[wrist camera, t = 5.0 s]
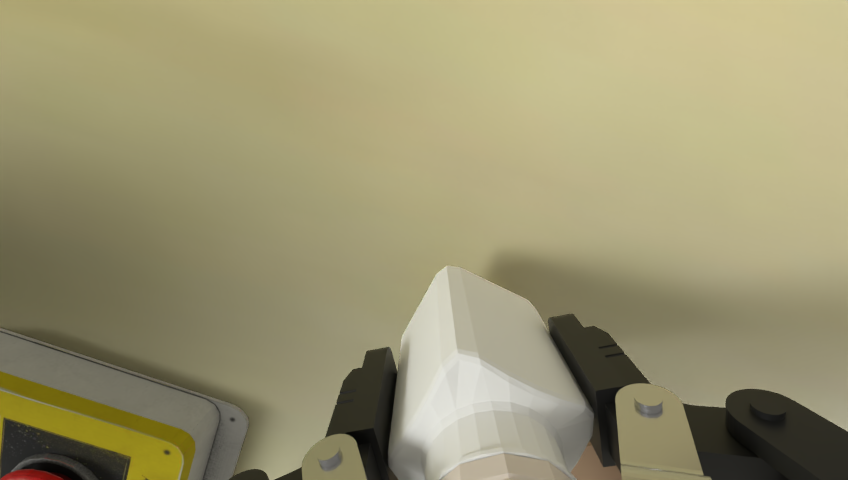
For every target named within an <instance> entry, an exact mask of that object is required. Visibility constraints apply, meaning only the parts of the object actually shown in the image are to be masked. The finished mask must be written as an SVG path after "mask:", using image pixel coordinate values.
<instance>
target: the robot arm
mask: <svg viewBox="0 0 848 480" xmlns="http://www.w3.org/2000/svg"><path fill="white" fill-rule="evenodd" d="M548 323H549V331H550V335H551V337H552V338H553V340H554V342H555V344H556V346H557V347H558V349H559V351H560V353H561V354H562V356H563V358H564V360H565V361H566V363H567V365H568V367H569V368H570V370H571V372H572V374H573V376H574V377H575V379H576V381H577V383H578V384H579V386H580V388H581V390H582V391H583V393H584V395H585V397H586V398H587V400H588V402H589V404H590V406H591V407H592V409H593V412H594V423H593V435H592V437H591V439H590V442H591V444H592V446H593V448H594V450H595V452H596V454H597V456H598V458H599V460H600V462H601V464H602V466H603V467H609V466H616V465H617V467H618V469H619V471H620V473H621V476H622V480H848V432H847V431H845V430H844V429H842V428H840V427H838V426H837V425H835V424H833V423H832V422H830V421H828V420H826V419H825V418H823V417H821V416H819V415H818V414H816V413H814V412H812V411H811V410H809V409H807V408H806V407H804V406H802V405H800V404H799V403H797V402H795V401H793V400H791V399H789V398H787V397H785V396H783V395H780V394H777V393H774V392H770V391H765V390H759V389H744V390H739V391H735V392H733V393H731V394H730V395H729V396H728V397H727V399H726V408H719V407H705V406H693V405H688V404H683V403H682V402H681V401H680V399H679V398H678V397H677V396H676V395H675V394H673V393H672V392H670V391H669V390H667V389H665V388H662V387H660V386H656V385H652V384H650V383H649V382H648V380H647V379H646V378H645V377H644V376H643V374H642V373H641V372H640V371H639V370H638V368H637V367H636V366H635V365H634V364H633V362H632V361H631V360H630V359H629V358H628V357H627V355H625V354H624V352H623V351H622V349H621V348H620V347H619V346H617V343H616V342H615V341H614V340H613V339H612V337H611V336H610V335H609V334H608V333H606V332H604V331H602V330H601V329H599V328H597V327H595V326H591V327H586V328H583V326H582V325H581V324H580V322H579V321H578V320H577V318H576V317H575V316H574V314H567V315H562V316H556V317H551V318H549V320H548ZM396 380H397V369H396V366H395V362H394V358H393V355H392V351H391V349H390V348H389V347H386V348H381V349H375V350H370V351H367V352H366V355H365V359H364V363H363V366H362V368H357V369H353V370H352V371H351V372H350V374H349V375H348V376H347V377H346V378H345V380H344V381H343V384H342V387H341V390H340V395H339V396H338V400H337V405H336V406H335V409H334V412H333V415H332V418H331V421H330V424H329V427H328V431H327V434H326V437H325V438H324V439H322V440H321V441H319V442H317V443H316V444H315V445H314V446H313V447H312V448H311V449H310V450H309V451H308V452H307V454H306V455H305V457H304V459H303V462H302V467H301V468H299V469H297V470H295V471H293V472H291V473H289V474H286V475H284V476H282V477H280V478H277V479H275V480H397V477H396V476H395V474H394V473H393V472H392V470H391V469H390V468H389V466H388V447H389V439H390V430H391V422H392V414H393V405H394V397H395V389H396ZM229 480H269V478H268V476H267V474H266V473H265V472H264V471H262V470H258V469H252V470H247V471H244V472H241V473H239V474H237V475H235V476H233V477H232V478H230V479H229Z"/></svg>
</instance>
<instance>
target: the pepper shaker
mask: <svg viewBox="0 0 848 480" xmlns="http://www.w3.org/2000/svg"><path fill="white" fill-rule="evenodd" d="M593 423H594V412H593V409H592V407H591V406H590V404H589V402H588V400H587V398H586V397H585V395H584V393H583V391H582V390H581V388H580V386H579V384H578V383H577V381H576V379H575V377H574V376H573V374H572V372H571V370H570V368H569V367H568V365H567V363H566V361H565V360H564V358H563V356H562V354H561V353H560V351H559V349H558V347H557V346H556V344H555V342H554V340H553V338H552V337H551V335H550V333H549V331H548V329H547V327H546V326H545V324H544V322H543V320H542V319H541V317H540V315H539V313H538V312H537V310H536V308H535V307H534V306H533V305H532V304H531V302H530V301H529V300H527V299H525V298H523V297H521V296H519V295H517V294H515V293H513V292H511V291H509V290H507V289H505V288H503V287H500V286H498V285H496V284H494V283H492V282H490V281H488V280H486V279H484V278H482V277H480V276H478V275H476V274H473V273H471V272H469V271H467V270H465V269H463V268H461V267H455V266H449V265H447V266H446V267H444V268H443V269H442V270H441V271H439V272H438V273H437V274H436V275H435V277H434V279H433V281H432V283H431V284H430V286H429V288H428V290H427V292H426V294H425V295H424V297H423V299H422V301H421V303H420V304H419V306H418V308H417V310H416V312H415V313H414V315H413V317H412V319H411V321H410V322H409V324H408V326H407V328H406V330H405V331H404V333H403V335H402V339H401V347H400V355H399V364H398V372H397V380H396V389H395V397H394V405H393V414H392V422H391V430H390V439H389V447H388V466H389V468H390V469H391V470H392V472H393V473H394V474H395V476H396V477H397V478H398V480H577V479H576V478H575V477H574V476H573V475H572V474H571V473H570V472H571V471H572V470H573V468H574V467H575V465H576V464H577V463H578V461H579V459H580V457H581V455H582V453H583V452H584V450H585V448H586V446H587V444H588V442H589V440H590V439H591V437H592V435H593Z"/></svg>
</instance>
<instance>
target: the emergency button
mask: <svg viewBox="0 0 848 480" xmlns="http://www.w3.org/2000/svg"><path fill="white" fill-rule="evenodd" d="M248 426H249V422H248V416H247V415H246V414H245V413H244V411H243V410H242V409H241V408H239V407H237V406H235V405H233V404H231V403H228V402H225V401H222V400H219V399H216V398H213V397H210V396H207V395H204V394H201V393H198V392H195V391H192V390H189V389H185V388H182V387H179V386H176V385H173V384H170V383H167V382H164V381H161V380H158V379H155V378H152V377H149V376H146V375H143V374H140V373H137V372H134V371H131V370H128V369H125V368H122V367H118V366H115V365H112V364H109V363H106V362H103V361H100V360H97V359H94V358H91V357H88V356H85V355H82V354H79V353H76V352H73V351H70V350H67V349H64V348H61V347H58V346H54V345H51V344H48V343H45V342H42V341H39V340H36V339H33V338H30V337H27V336H24V335H21V334H18V333H15V332H12V331H9V330H6V329H3V328H0V480H229V479H230V478H232V477H233V474H234V471H235V467H236V464H237V461H238V458H239V455H240V452H241V449H242V445H243V442H244V439H245V436H246V433H247V430H248Z"/></svg>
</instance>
